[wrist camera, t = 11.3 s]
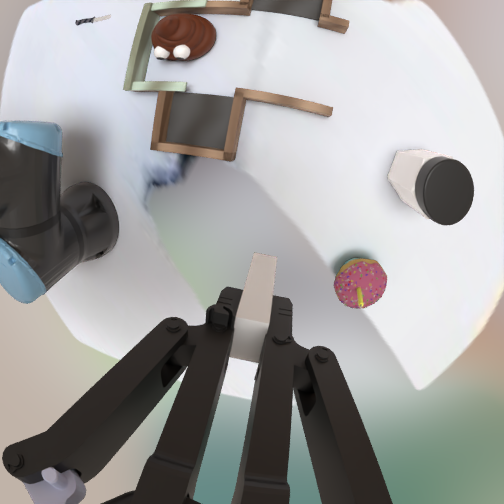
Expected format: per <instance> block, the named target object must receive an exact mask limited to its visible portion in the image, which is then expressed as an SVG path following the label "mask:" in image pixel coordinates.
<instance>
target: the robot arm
mask: <svg viewBox="0 0 504 504" xmlns="http://www.w3.org/2000/svg"><path fill="white" fill-rule="evenodd" d="M62 157H63V153H62V130H61V128H60V126H59V125H57V124H56V123H51V122H39V121H0V283H1V285H2V286H3V288H4V289H5V290H6V291H7V292H8V293H9V294H10V295H11V296H12V297H13V298H14V299H16V300H17V301H19V302H21V303H26V304H28V303H31V302H33V301H35V300H36V299H37V298H38V297H40V296H41V295H44V294H45V293H46V292H47V291H48V290H49V289H50V288H51V287H52V286H53V285H54V284H55V283H57V282H58V281H59V280H60V279H61V278H62V277H63V276H65V275H66V274H67V273H68V272H69V271H70V270H71V269H73V268H74V267H75V266H76V265H77V264H79V263H81V262H85V261H89V260H93V259H97V258H100V257H102V256H103V255H105V254H106V253H107V252H109V251H110V250H111V249H112V248H113V246H114V245H115V243H116V241H117V237H118V231H119V224H118V217H117V213H116V210H115V207H114V205H113V203H112V201H111V200H110V198H109V197H108V195H107V194H106V193H105V192H104V191H103V190H102V189H101V188H100V187H98V186H97V185H95V184H92V183H89V182H82V183H78V184H76V185H73V186H71V187H69V188H68V189H67V190H66V191H64V193H63V194H62V195H61V196H60V178H61V158H62ZM276 262H277V257H274V256H270V255H265V254H259V253H254V255H253V258H252V262H251V265H250V269H249V272H248V276H247V279H246V283H245V286H244V290H241V289H236V288H231V287H226V288H225V289H223V290H222V291H221V293H220V296H219V298H218V301H217V303H216V304H215V305H212V306H210V307H208V309H207V310H206V323H205V324H203V325H199V326H188V325H187V323H186V321H184V320H183V319H181V318H177V317H170V318H166V319H164V320H163V321H161V322H160V323H159V324H158V325H157V326H156V327H155V328H154V329H153V330H152V331H151V332H150V333H149V334H147V335H146V336H145V337H144V338H143V339H142V340H141V341H140V342H139V343H138V344H137V345H136V346H135V347H134V348H133V349H132V350H130V351H129V352H128V353H127V354H126V355H125V356H124V357H123V358H122V359H121V360H120V361H119V362H118V363H117V364H116V365H115V366H114V367H113V368H112V369H110V370H109V371H108V372H107V373H106V374H105V375H104V376H103V377H102V378H101V379H100V380H99V381H98V382H97V383H96V384H95V385H94V386H93V387H92V388H90V389H89V390H88V391H87V392H86V393H85V394H84V395H83V396H82V397H81V398H80V399H79V400H78V401H77V402H76V403H75V404H74V405H73V406H72V407H71V408H70V409H69V410H68V411H67V412H66V413H64V414H63V416H61V417H60V418H59V419H58V420H57V421H56V422H55V423H54V424H53V425H52V426H51V427H50V428H49V429H48V430H47V431H45V432H43V433H41V434H38V435H36V436H33V437H30V438H28V439H25V440H23V441H20V442H17V443H14V444H12V445H9V446H8V447H6V449H5V450H4V452H3V457H2V460H3V464H4V466H5V468H6V470H7V471H8V472H9V473H10V474H11V475H12V476H14V477H16V478H18V479H19V480H21V481H22V482H23V483H24V485H25V487H26V489H27V491H28V493H29V495H30V497H31V498H32V500H33V502H34V504H78V503H79V502H80V501H82V500H83V499H84V497H85V495H86V488H85V485H84V483H86V482H88V481H89V480H91V479H92V478H93V477H95V476H96V475H97V474H98V473H99V472H100V471H101V470H102V469H103V468H104V467H105V466H106V465H107V463H108V462H109V461H110V460H111V459H112V457H113V456H114V455H115V454H116V452H118V450H119V449H120V448H121V447H122V446H123V445H124V443H125V442H126V441H127V440H128V439H129V437H130V436H131V435H132V434H133V433H134V432H135V430H136V429H137V428H138V427H139V426H140V424H141V423H142V422H143V421H144V419H145V418H146V417H147V416H148V415H149V413H150V412H151V411H152V410H153V409H154V407H155V406H156V405H157V403H159V401H160V400H161V399H162V398H163V396H164V395H165V394H166V393H167V391H168V390H169V389H170V388H171V387H172V385H173V384H174V383H175V382H176V380H177V379H178V378H179V377H180V375H181V374H182V373H183V372H184V370H185V369H186V368H187V366H188V368H187V370H186V373H185V375H184V378H183V380H182V383H181V386H180V388H179V390H178V393H177V396H176V398H175V401H174V403H173V406H172V408H171V411H170V413H169V416H168V418H167V421H166V424H165V426H164V429H163V431H162V434H161V437H160V439H159V442H158V444H157V447H156V450H155V452H154V453H153V455H151V456H150V457H149V458H148V460H147V462H146V464H145V466H144V469H143V471H142V474H141V477H140V479H139V482H138V484H137V487H136V490H135V491H130V492H127V493H124V494H122V495H120V496H118V497H115V498H113V499H111V500H109V501H106V502H104V503H101V504H201V503H199V502H196V501H194V500H193V496H194V492H195V487H196V482H197V478H198V474H199V471H200V467H201V463H202V460H203V456H204V452H205V448H206V445H207V441H208V437H209V434H210V430H211V426H212V422H213V419H214V415H215V411H216V408H217V404H218V400H219V396H220V393H221V389H222V385H223V381H224V377H225V374H226V370H227V366H228V360H229V357H232V358H237V359H241V360H246V361H251V362H256V363H259V365H258V368H257V372H256V375H255V379H254V380H255V384H254V390H253V396H252V402H251V408H250V413H249V419H248V424H247V430H246V436H245V441H244V446H243V452H242V457H241V462H240V467H239V472H238V477H237V483H236V487H235V492H234V495H233V498H232V503H231V504H289V498H290V487H289V485H288V483H287V470H288V460H289V447H290V431H291V416H292V397H293V390H294V394H295V398H296V402H297V406H298V410H299V413H300V417H301V421H302V425H303V429H304V433H305V437H306V441H307V445H308V449H309V453H310V457H311V461H312V465H313V469H314V473H315V477H316V481H317V485H318V489H319V493H320V497H321V501H322V504H393V503H392V501H391V498H390V495H389V492H388V489H387V486H386V484H385V480H384V478H383V475H382V472H381V469H380V467H379V464H378V461H377V458H376V456H375V453H374V451H373V448H372V445H371V443H370V440H369V437H368V435H367V432H366V430H365V427H364V424H363V422H362V419H361V417H360V414H359V412H358V409H357V407H356V404H355V402H354V399H353V397H352V394H351V392H350V390H349V387H348V385H347V382H346V380H345V378H344V375H343V373H342V370H341V368H340V366H339V363H338V361H337V359H336V356H335V354H334V353H333V352H332V351H331V350H330V349H328V348H326V347H323V346H316V347H313V348H311V349H310V350H309V349H306V348H304V347H302V346H300V345H298V344H297V343H296V342H295V341H294V338H293V336H292V306H293V305H292V303H291V301H290V299H289V298H284V297H279V296H274V295H273V289H274V281H275V272H276Z"/></svg>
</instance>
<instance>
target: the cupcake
mask: <svg viewBox="0 0 504 504" xmlns="http://www.w3.org/2000/svg"><path fill="white" fill-rule="evenodd" d="M386 283H387V275H386V273H385V271H384V270H383V269H382V267H381V266H380V264H379V263H378V262H377V261H375V260H370V259H360V258H353V259H350V260H348V261H347V262H346V263H345V264H344V265H343V266H342V267H341V269H340V271H339V272H338V274H337V275H336V278H335V281H334V288H335V292H336V294H337V296H338V298H339V300H340V301H341V302H342V303H343V304H345V305H346V306H349V307H351V308H365V307H366V308H367V306H370V305H372V304H374V303H375V302H377V301H378V300H379V299H380V298H381V297H382V294H383V293H384V291H385V288H386Z"/></svg>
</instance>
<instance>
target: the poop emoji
mask: <svg viewBox="0 0 504 504" xmlns="http://www.w3.org/2000/svg"><path fill="white" fill-rule="evenodd" d="M215 40H216V30H215V28H214V26H213V25H212V23H211V22H209V21H208V20H207V19H205V18H203V17H201V16H198V15H193V14H184V13H179V14H172V15H169V16H166V17H164V18H163V19H161V20H160V21H159V22H158V23H157V25H156V26H155V27H154V29H153V31H152V35H151V41H152V44H153V47H154V49H155V50H154V55H155V57H156V58H157V59H160V60H164V59H167V60H181V61H187V60H193V59H196V58H199V57H201V56H203V55H204V54H206V53H207V52H208V51H209V50H210V49H211V48H212V46H213V45H214V43H215Z"/></svg>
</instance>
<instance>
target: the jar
mask: <svg viewBox="0 0 504 504" xmlns="http://www.w3.org/2000/svg"><path fill="white" fill-rule="evenodd" d="M387 178H388V180H389V181H390V183H391V184H392V186H393V187H394V189H395V191H396V192H397V194H398V195H399V197H400V199H401V200H402V201H403V202H405V203H406V204H407V205H409V206H410V207H412V208H413V209H414V210H416V211H417V212H418V213H419V214H421V215H422V216H423V217H425V218H426V219H431V220H433V221H434V222H436V223H438V224H441V225H452V224H455V223H457V222H459V221H460V220H462V219H463V218H464V217H465V215H466V214H467V213H468V211H469V209H470V207H471V205H472V201H473V196H474V185H473V180H472V177H471V174H470V172H469V171H468V169H467V168H466V167H465V166H464V165H463V164H462V163H461V162H459V161H457V160H454V159H453V158H452V157H451V156H448V155H444V154H440V153H436V152H432V151H427V150H423V149H417V150H402V151H397V153H396V155H395V158H394V161H393V163H392V166H391V169H390V171H389V174H388V176H387Z"/></svg>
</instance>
